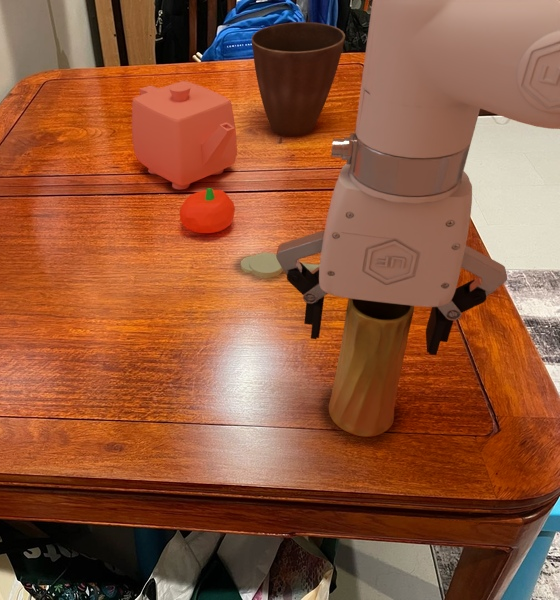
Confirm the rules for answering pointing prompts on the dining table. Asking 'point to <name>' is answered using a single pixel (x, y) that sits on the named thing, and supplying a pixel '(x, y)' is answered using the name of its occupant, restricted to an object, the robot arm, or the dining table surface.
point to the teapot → (183, 132)
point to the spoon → (267, 265)
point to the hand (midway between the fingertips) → (371, 336)
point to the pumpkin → (207, 211)
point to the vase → (369, 366)
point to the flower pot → (296, 72)
